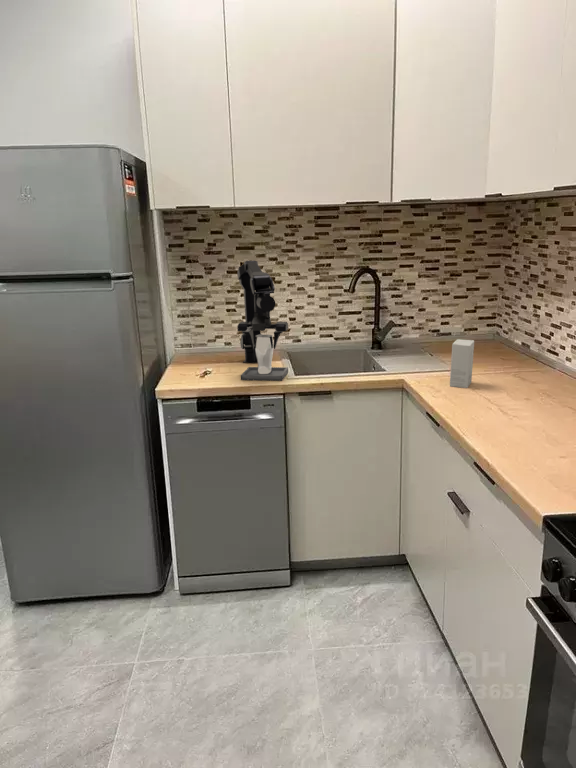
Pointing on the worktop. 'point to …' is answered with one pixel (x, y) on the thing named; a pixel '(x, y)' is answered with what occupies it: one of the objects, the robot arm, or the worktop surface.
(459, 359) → the skincare box
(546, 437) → the worktop surface
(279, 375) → the drip tray
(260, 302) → the robot arm
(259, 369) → the beer glass
